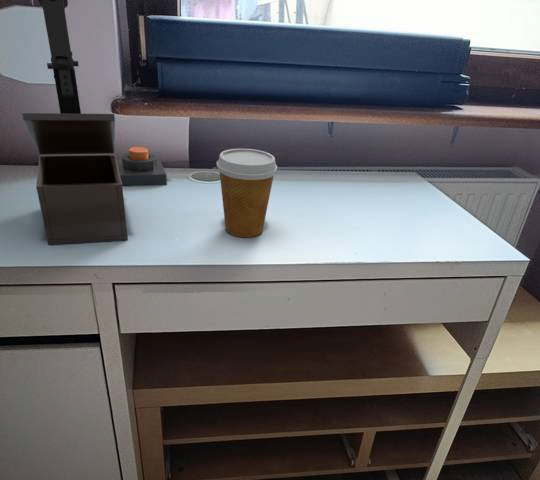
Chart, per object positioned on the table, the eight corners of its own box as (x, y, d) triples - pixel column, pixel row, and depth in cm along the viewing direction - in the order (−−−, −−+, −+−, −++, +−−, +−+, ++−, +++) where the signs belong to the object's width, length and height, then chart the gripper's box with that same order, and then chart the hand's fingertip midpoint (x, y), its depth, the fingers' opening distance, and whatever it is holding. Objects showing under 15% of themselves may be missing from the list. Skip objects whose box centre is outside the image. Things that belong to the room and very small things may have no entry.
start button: (128, 156, 100) (128, 146, 99) (147, 155, 101) (146, 146, 100) (130, 161, 97) (129, 152, 96) (149, 161, 98) (149, 152, 97)
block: (115, 169, 104) (113, 149, 101) (159, 168, 106) (158, 149, 104) (119, 186, 96) (117, 165, 94) (167, 185, 99) (166, 164, 97)
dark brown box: (128, 240, 79) (122, 184, 73) (48, 245, 75) (36, 186, 70) (120, 205, 89) (114, 153, 84) (50, 208, 86) (39, 154, 81)
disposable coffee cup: (260, 216, 90) (265, 146, 83) (280, 239, 83) (287, 165, 76) (209, 220, 87) (209, 148, 80) (225, 244, 80) (226, 167, 73)
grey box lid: (115, 120, 69) (114, 113, 69) (23, 120, 66) (22, 112, 66) (114, 153, 84) (113, 147, 84) (39, 154, 80) (38, 148, 80)
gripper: (73, -104, 53) (102, 132, 68) (71, -96, 63) (97, 109, 77) (-6, -114, 51) (42, 132, 66) (5, -104, 61) (44, 109, 75)
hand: (71, 120), depth 72 cm, fingers closed
